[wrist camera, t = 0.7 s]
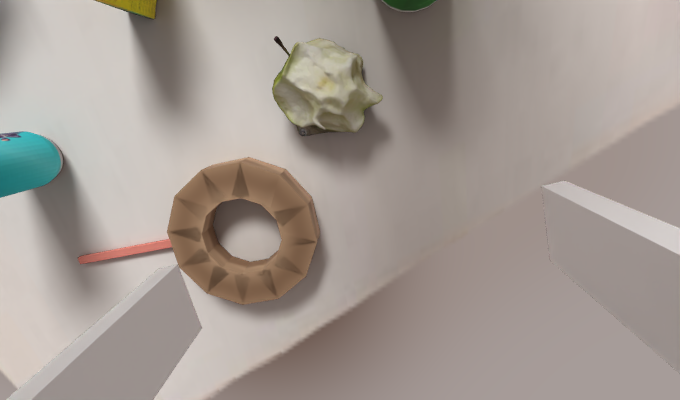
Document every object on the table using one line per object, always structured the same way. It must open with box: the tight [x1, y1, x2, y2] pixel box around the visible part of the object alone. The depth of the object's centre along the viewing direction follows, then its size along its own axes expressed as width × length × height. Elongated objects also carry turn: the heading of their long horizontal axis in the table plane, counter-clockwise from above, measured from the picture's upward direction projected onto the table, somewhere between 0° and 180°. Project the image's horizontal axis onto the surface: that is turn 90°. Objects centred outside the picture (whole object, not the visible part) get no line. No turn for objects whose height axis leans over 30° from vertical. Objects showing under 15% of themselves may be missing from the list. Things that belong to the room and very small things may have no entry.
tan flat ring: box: [167, 157, 320, 305], centre depth 40 cm, size 15×15×3 cm
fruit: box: [272, 36, 383, 136], centre depth 34 cm, size 9×9×8 cm
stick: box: [78, 239, 172, 264], centre depth 42 cm, size 1×13×1 cm, turn 102°
